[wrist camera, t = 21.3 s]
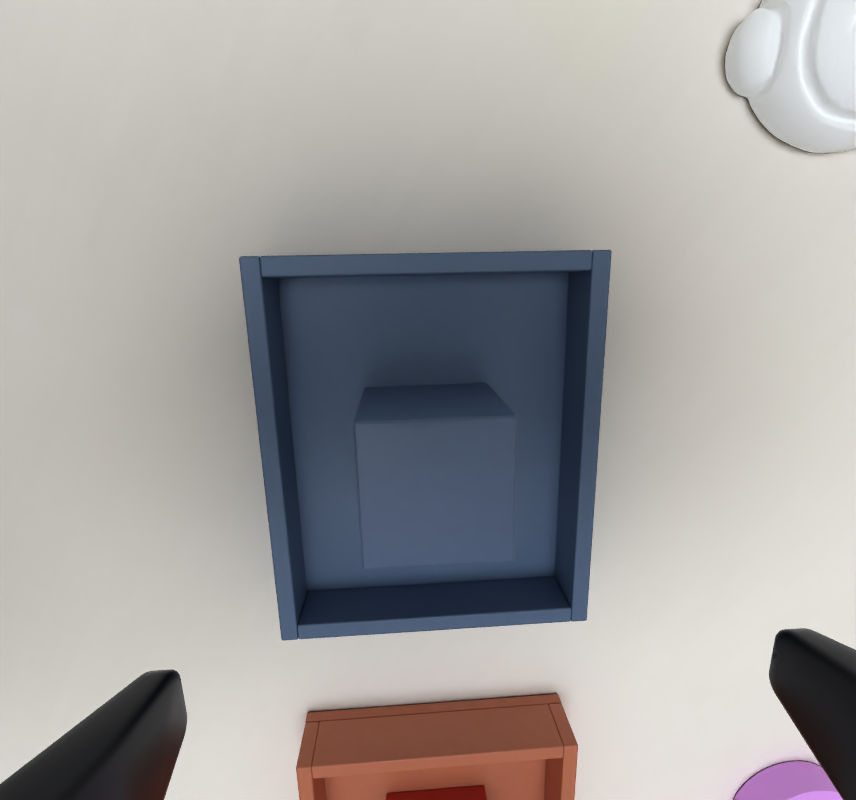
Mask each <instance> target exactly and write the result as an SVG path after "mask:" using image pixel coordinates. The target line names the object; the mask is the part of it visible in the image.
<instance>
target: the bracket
mask: <svg viewBox="0 0 856 800" xmlns="http://www.w3.org/2000/svg"><path fill="white" fill-rule="evenodd" d="M734 800H843V799H842V798H841V796H840V795H839V793H838V792H837V790H836V789H835V787H834V786H833V784H832V782H831V781H830V779H829V778H828V776H827V774H826V773H825V771H824V770H823V768H822V767H820V766H818V765H816V764H813V763H809V762H803V761H792V762H785V763H781V764H777V765H774V766H771V767H769V768H767V769H765V770H763V771H761V772H759V773H758V774H756V775H755V776H753V777H752V778H751V779H749V780H748V781H747V782H746V783H745V784H744V785H743V786H742V787H741V789H740V790H739V791H738V793H737V794H736V796H735V798H734Z"/></svg>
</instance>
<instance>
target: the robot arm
mask: <svg viewBox="0 0 856 800" xmlns="http://www.w3.org/2000/svg"><path fill="white" fill-rule="evenodd" d="M769 679H770V683H771V686H772V688H773V690H774V692H775V694H776V696H777V697H778V699H779V700H780V702H781V704H782V705H783V707H784V708H785V710H786V711H787V713H788V715H789V716H790V718H791V719H792V721H793V722H794V724H795V726H796V727H797V729H798V730H799V732H800V734H801V735H802V737H803V738H804V740H805V741H806V743H807V745H808V746H809V748H810V749H811V751H812V752H813V754H814V756H815V757H816V759H817V760H818V762H819V763H820V765H821V767H822V768H823V770H824V771H825V773H826V774H827V776H828V778H829V779H830V781H831V782H832V784H833V786H834V787H835V789H836V790H837V792H838V793H839V795H840V796H841V798H842V799H843V800H856V650H855V649H852V648H850V647H848V646H846V645H844V644H841V643H839V642H837V641H835V640H833V639H830V638H828V637H826V636H824V635H822V634H819V633H817V632H815V631H813V630H810V629H805V628H800V629H785V630H781V631H779V632H778V634H777V635H776V637H775V642H774V647H773V653H772V658H771V664H770V669H769ZM186 725H187V712H186V706H185V701H184V695H183V690H182V684H181V679H180V675H179V673H178V672H177V671H175V670H158V671H149V672H146V673H144V674H143V675H141V676H140V677H138V678H137V679H136V680H134V681H133V682H132V683H131V684H129V685H128V686H127V687H125V688H124V689H123V690H122V691H120V692H119V693H118V694H116V695H115V696H114V697H112V698H111V699H110V700H109V701H107V702H106V703H105V704H103V705H102V706H101V707H99V708H98V709H97V710H96V711H94V712H93V713H92V714H90V715H89V716H88V717H87V718H85V719H84V720H83V721H81V722H80V723H79V724H77V725H76V726H75V727H74V728H72V729H71V730H70V731H68V732H67V733H66V734H64V735H63V736H62V737H61V738H59V739H58V740H57V741H55V742H54V743H53V744H52V745H50V746H49V747H48V748H46V749H45V750H44V751H42V752H41V753H40V754H39V755H37V756H36V757H35V758H33V759H32V760H31V761H29V762H28V763H27V764H26V765H24V766H23V767H22V768H20V769H19V770H18V771H16V772H15V773H14V774H13V775H11V776H10V777H9V778H7V779H6V780H5V781H4V782H2V783H1V784H0V800H164V798H165V795H166V792H167V788H168V785H169V782H170V779H171V776H172V773H173V770H174V767H175V763H176V760H177V757H178V754H179V751H180V748H181V745H182V742H183V738H184V735H185V731H186Z"/></svg>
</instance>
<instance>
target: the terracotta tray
mask: <svg viewBox="0 0 856 800" xmlns="http://www.w3.org/2000/svg"><path fill="white" fill-rule="evenodd" d="M577 752H578V744H577V742H576V739H575V737H574V734H573V732H572V729H571V727H570V724H569V722H568V719H567V717H566V714H565V711H564V709H563V706H562V704H561V701H560V699H559V696H558V694H549V695H536V696H522V697H509V698H496V699H482V700H469V701H456V702H442V703H429V704H416V705H402V706H389V707H376V708H362V709H349V710H336V711H322V712H309V713H308V714H307V718H306V724H305V728H304V733H303V738H302V742H301V747H300V752H299V757H298V762H297V766H296V772H297V781H298V790H299V799H300V800H386V795H387V793H397V792H409V791H420V790H432V789H443V788H455V787H466V786H478V785H484V786H485V791H486V797H487V800H574V796H575V781H576V767H577Z"/></svg>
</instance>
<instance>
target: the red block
mask: <svg viewBox="0 0 856 800" xmlns="http://www.w3.org/2000/svg"><path fill="white" fill-rule="evenodd" d="M386 800H487V797H486V791H485V786H484V785H478V786H466V787H455V788H443V789H432V790H420V791H409V792H397V793H387V795H386Z"/></svg>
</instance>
